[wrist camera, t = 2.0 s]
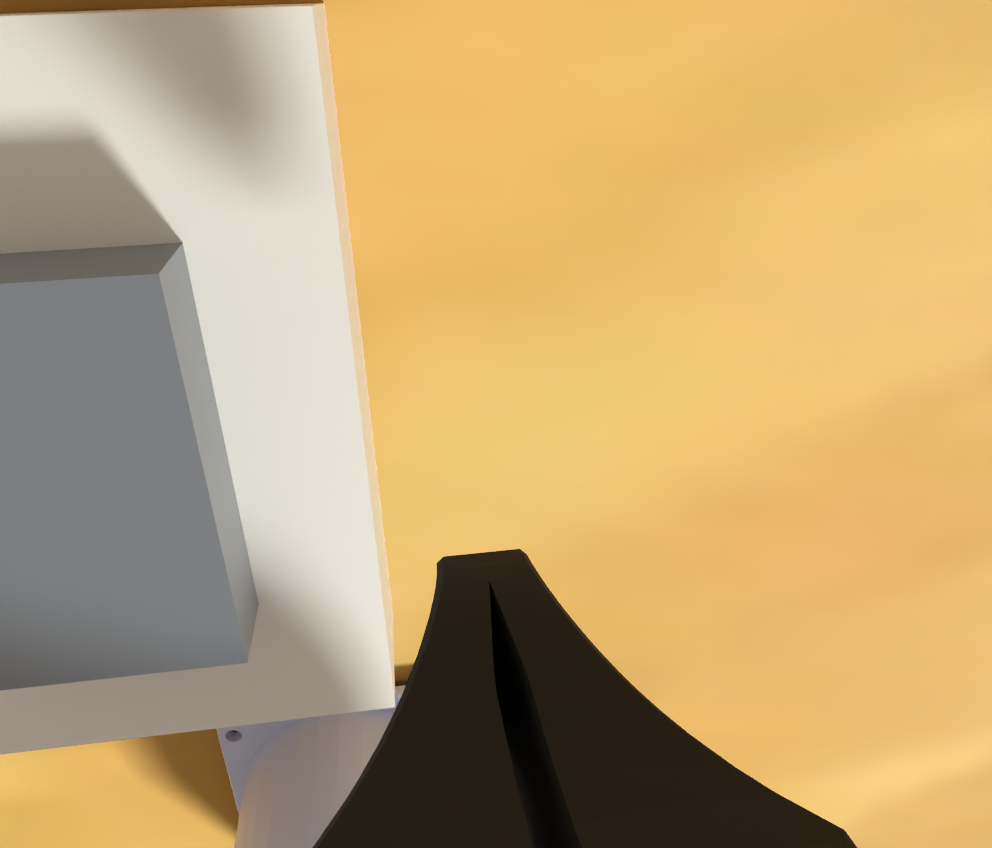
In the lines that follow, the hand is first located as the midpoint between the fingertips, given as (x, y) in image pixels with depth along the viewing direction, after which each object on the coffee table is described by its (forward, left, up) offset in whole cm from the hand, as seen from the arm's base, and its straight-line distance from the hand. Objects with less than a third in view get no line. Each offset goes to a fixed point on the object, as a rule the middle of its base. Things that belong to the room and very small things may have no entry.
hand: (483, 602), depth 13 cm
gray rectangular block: (0, +8, -6) cm, 10 cm away
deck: (0, +8, -10) cm, 13 cm away
